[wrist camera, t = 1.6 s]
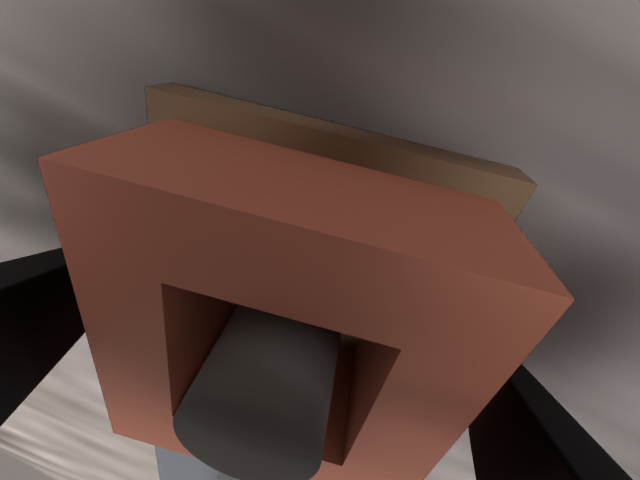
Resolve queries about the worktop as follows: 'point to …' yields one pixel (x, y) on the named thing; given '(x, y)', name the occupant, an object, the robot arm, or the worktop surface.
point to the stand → (283, 333)
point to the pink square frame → (296, 284)
